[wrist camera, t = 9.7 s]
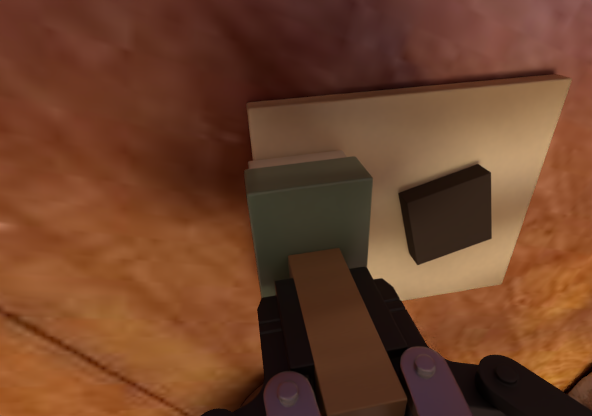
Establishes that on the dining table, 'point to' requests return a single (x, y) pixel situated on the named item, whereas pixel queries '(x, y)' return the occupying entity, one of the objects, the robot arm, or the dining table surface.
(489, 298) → the dining table surface
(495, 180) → the board
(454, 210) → the dark brown square tile
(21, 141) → the dining table surface
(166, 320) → the dining table surface
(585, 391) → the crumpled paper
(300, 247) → the wall hook
